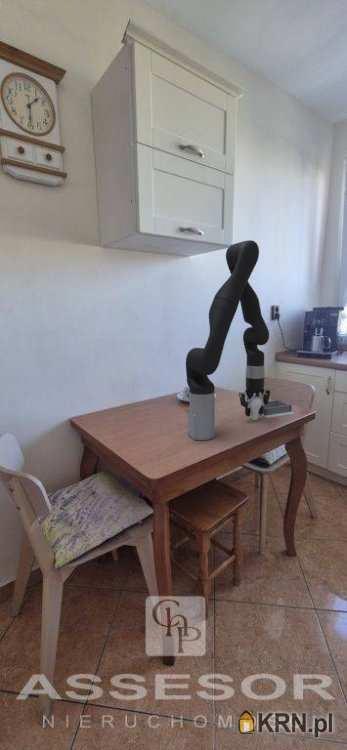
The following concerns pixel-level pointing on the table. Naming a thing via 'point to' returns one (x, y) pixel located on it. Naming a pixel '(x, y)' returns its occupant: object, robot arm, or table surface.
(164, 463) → the table surface
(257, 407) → the lightbulb
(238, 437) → the table surface
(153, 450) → the table surface
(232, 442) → the table surface
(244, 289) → the robot arm
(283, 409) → the grey flat square tray
